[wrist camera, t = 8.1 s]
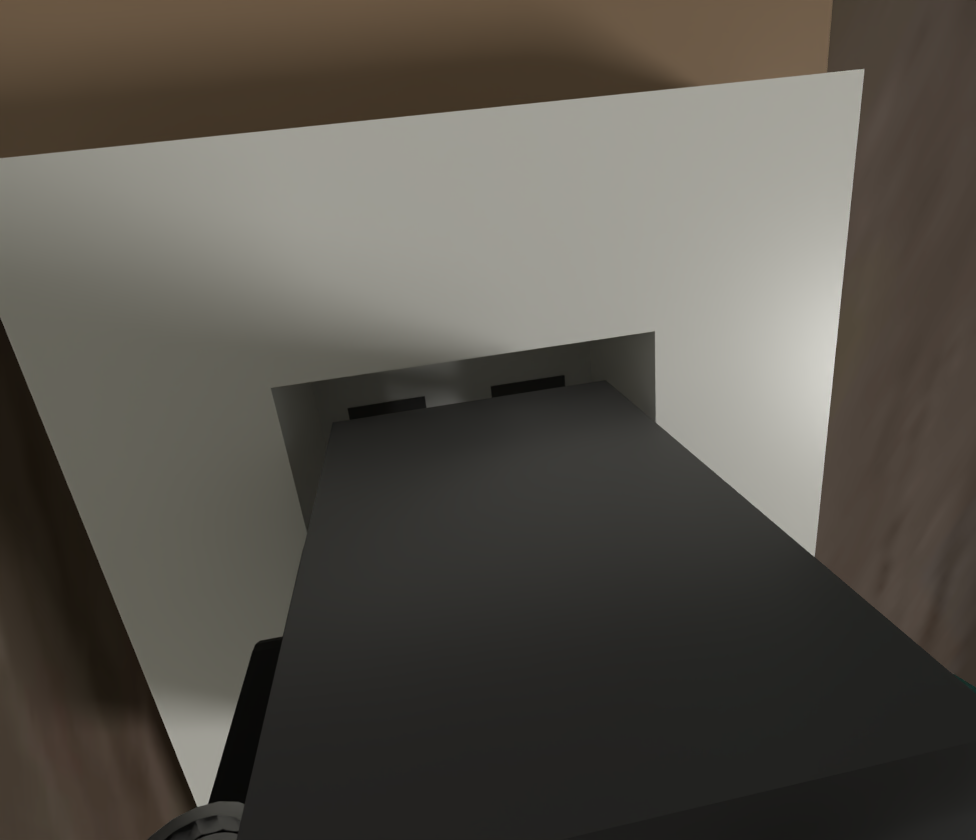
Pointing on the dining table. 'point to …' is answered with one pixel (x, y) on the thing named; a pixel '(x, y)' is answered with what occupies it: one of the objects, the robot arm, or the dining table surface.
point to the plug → (585, 651)
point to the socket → (399, 262)
